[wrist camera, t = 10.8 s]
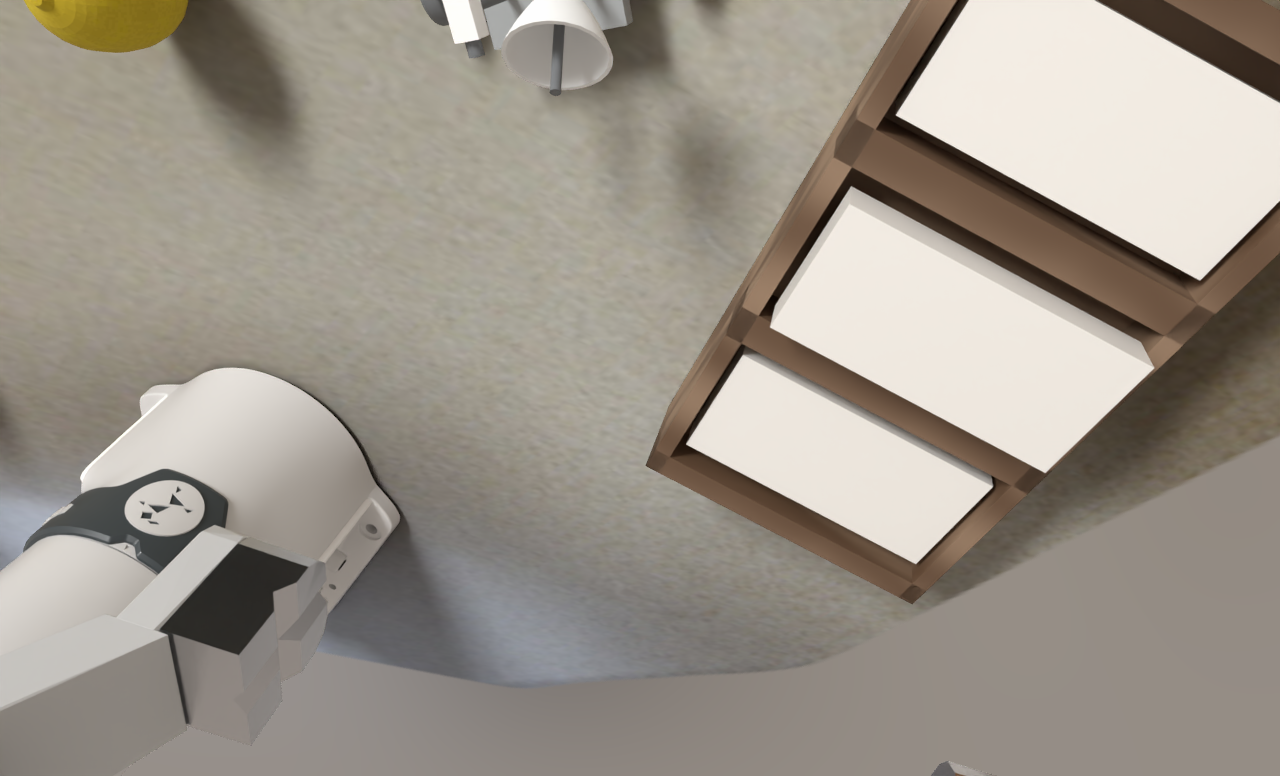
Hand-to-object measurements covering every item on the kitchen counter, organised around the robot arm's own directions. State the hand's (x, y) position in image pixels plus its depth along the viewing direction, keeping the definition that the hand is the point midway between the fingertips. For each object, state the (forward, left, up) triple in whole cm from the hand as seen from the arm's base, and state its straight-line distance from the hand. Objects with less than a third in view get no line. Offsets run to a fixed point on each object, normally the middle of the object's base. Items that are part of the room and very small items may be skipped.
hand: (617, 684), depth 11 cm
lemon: (-9, +30, -31) cm, 44 cm away
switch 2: (-4, -9, -26) cm, 28 cm away
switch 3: (-13, -9, -28) cm, 32 cm away
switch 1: (+5, -9, -28) cm, 30 cm away
